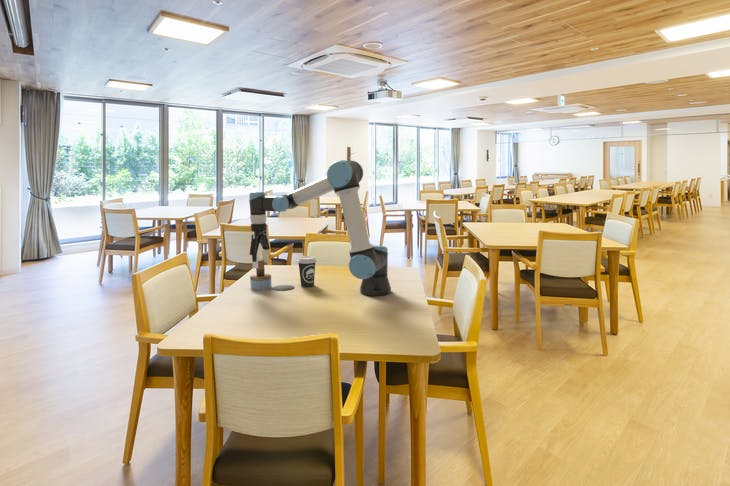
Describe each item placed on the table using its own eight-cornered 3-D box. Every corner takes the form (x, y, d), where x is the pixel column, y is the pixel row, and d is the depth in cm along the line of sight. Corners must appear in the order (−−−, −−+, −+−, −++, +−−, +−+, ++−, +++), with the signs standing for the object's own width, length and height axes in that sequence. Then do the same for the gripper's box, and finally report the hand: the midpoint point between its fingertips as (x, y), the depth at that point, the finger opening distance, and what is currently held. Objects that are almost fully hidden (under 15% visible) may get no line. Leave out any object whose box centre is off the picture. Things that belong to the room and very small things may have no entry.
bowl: (275, 287, 238) (274, 277, 238) (259, 291, 231) (259, 281, 230) (262, 284, 245) (262, 275, 244) (246, 288, 237) (246, 278, 236)
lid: (275, 277, 238) (274, 260, 236) (259, 281, 230) (258, 263, 228) (262, 274, 244) (261, 257, 243) (245, 278, 236) (245, 260, 235)
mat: (299, 288, 237) (299, 287, 237) (282, 293, 228) (282, 292, 228) (284, 284, 244) (284, 283, 244) (267, 289, 235) (267, 288, 235)
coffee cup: (318, 284, 245) (318, 255, 243) (314, 288, 236) (314, 259, 233) (300, 283, 246) (299, 255, 244) (296, 288, 237) (295, 259, 234)
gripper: (260, 219, 245) (262, 259, 248) (240, 226, 221) (243, 270, 224) (274, 220, 244) (276, 260, 247) (256, 226, 219) (258, 270, 223)
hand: (260, 265), depth 236 cm, fingers open, 13 cm apart
